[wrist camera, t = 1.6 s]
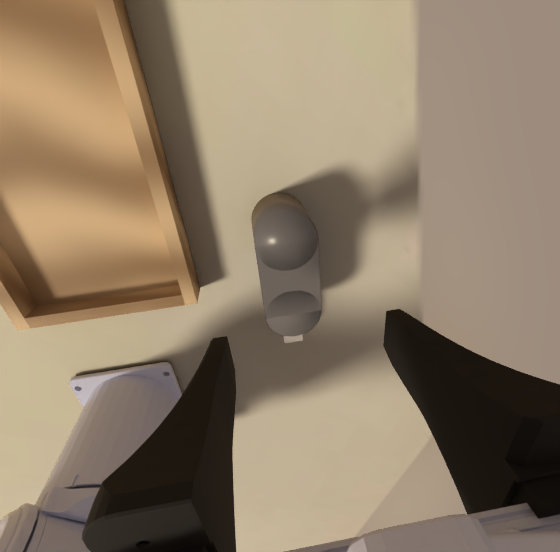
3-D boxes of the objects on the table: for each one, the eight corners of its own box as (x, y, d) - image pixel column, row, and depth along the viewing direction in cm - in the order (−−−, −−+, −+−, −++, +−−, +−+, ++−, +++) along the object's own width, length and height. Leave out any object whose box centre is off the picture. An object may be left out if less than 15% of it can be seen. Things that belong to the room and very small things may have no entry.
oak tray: (200, 287, 23) (197, 303, 21) (34, 312, 22) (17, 330, 20) (112, -45, 14) (94, -66, 12) (-166, -22, 13) (-227, -41, 12)
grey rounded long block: (311, 319, 25) (322, 353, 22) (267, 326, 25) (272, 362, 22) (303, 189, 20) (317, 207, 17) (247, 196, 20) (250, 216, 16)
